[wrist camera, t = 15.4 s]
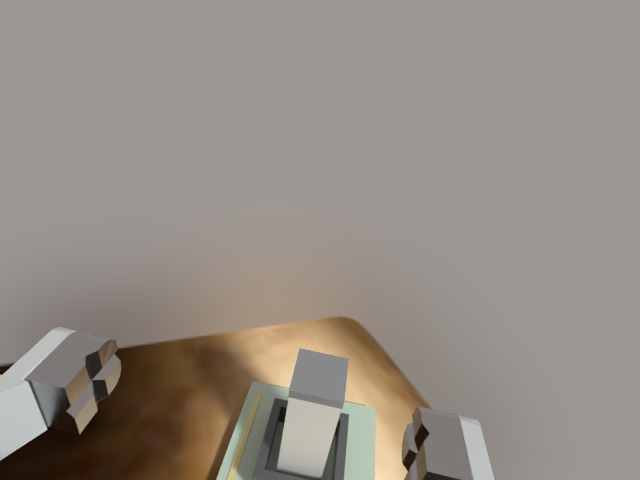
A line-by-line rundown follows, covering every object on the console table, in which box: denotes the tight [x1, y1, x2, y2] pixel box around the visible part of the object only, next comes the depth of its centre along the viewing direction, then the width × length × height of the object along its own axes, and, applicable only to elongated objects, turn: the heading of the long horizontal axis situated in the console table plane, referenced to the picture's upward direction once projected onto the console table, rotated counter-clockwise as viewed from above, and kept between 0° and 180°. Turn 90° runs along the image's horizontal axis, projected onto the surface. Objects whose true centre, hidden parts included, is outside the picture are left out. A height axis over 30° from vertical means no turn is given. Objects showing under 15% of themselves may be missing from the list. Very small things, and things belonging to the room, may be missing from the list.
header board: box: [216, 381, 376, 480], centre depth 34 cm, size 14×14×4 cm
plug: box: [276, 348, 348, 480], centre depth 32 cm, size 4×5×12 cm
